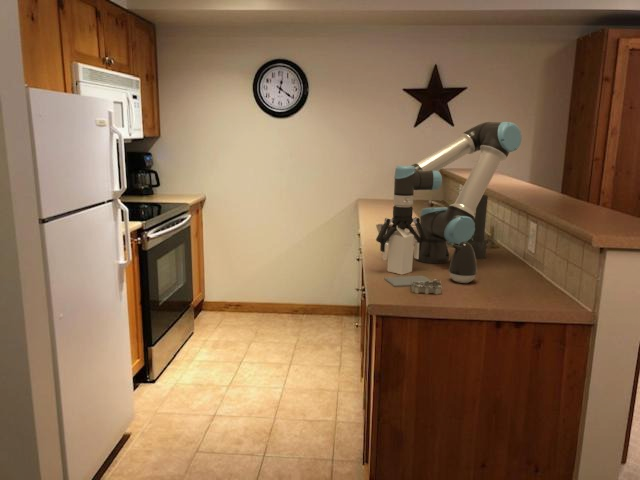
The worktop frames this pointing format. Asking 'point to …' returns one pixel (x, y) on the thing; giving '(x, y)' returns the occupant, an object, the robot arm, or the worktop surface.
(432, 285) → the egg carton
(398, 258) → the milk carton
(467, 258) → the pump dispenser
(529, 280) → the worktop surface
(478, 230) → the flashlight
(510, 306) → the worktop surface
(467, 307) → the worktop surface
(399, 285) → the mat
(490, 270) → the worktop surface
